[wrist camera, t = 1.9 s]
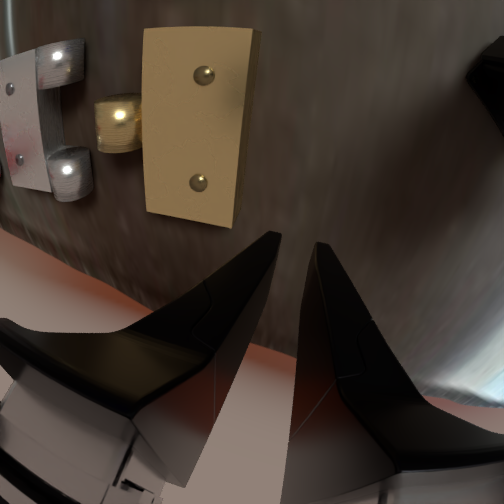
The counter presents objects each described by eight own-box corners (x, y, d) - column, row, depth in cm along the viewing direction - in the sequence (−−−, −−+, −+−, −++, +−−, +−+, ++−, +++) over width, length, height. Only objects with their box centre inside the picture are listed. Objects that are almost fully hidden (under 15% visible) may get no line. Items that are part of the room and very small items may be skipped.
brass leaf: (115, 33, 16) (82, 36, 13) (262, 31, 15) (248, 27, 12) (121, 186, 24) (96, 209, 21) (241, 208, 23) (227, 236, 20)
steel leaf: (17, 55, 17) (-13, 65, 14) (94, 36, 16) (59, 41, 13) (30, 172, 26) (6, 190, 23) (102, 183, 24) (75, 204, 22)
